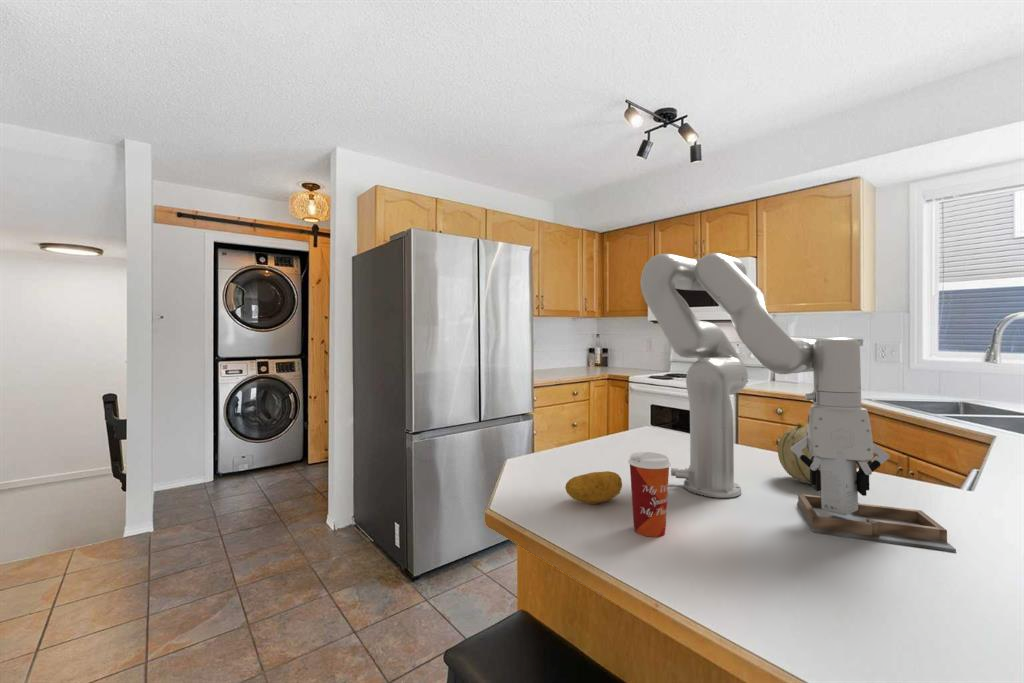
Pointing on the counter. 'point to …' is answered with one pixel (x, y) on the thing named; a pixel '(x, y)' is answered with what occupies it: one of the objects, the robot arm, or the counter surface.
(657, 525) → the paper cup
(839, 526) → the angular wooden tray
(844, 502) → the skincare box
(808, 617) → the counter surface
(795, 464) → the cantaloupe
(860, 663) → the counter surface
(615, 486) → the potato
